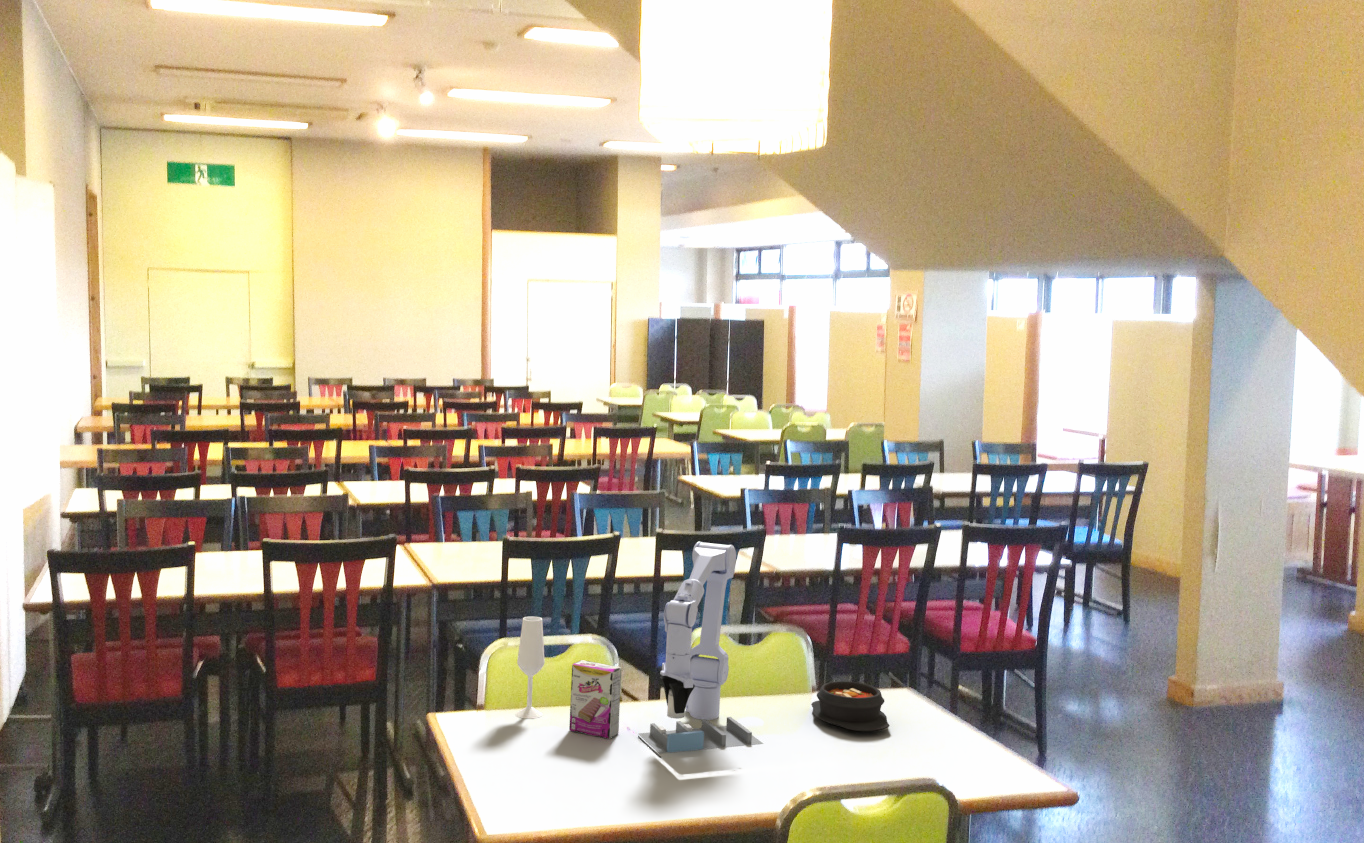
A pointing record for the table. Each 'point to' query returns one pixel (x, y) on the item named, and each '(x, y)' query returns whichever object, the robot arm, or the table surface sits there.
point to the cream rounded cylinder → (672, 707)
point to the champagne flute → (531, 659)
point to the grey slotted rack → (697, 737)
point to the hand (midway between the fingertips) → (675, 709)
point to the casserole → (851, 706)
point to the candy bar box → (595, 699)
